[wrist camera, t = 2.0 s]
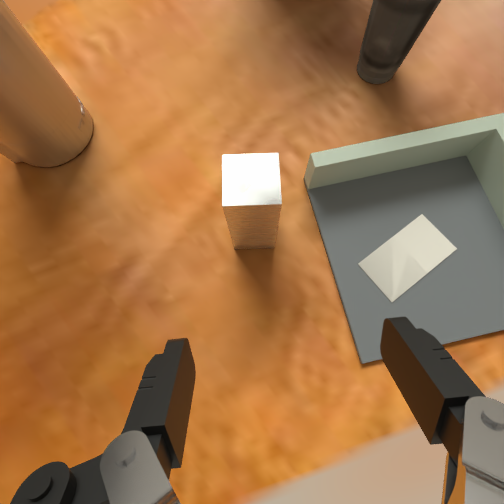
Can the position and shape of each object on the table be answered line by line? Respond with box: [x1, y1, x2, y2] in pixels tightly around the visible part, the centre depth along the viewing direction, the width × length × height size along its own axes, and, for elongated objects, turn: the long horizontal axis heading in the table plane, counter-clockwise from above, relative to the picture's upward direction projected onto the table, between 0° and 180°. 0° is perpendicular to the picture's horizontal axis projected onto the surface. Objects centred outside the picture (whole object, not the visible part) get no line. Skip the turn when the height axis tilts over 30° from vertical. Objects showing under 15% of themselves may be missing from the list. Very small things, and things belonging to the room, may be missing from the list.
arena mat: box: [304, 156, 504, 364], centre depth 28 cm, size 19×19×1 cm
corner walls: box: [304, 113, 504, 228], centre depth 26 cm, size 19×19×4 cm
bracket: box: [222, 153, 282, 250], centre depth 25 cm, size 8×4×10 cm, turn 2°
